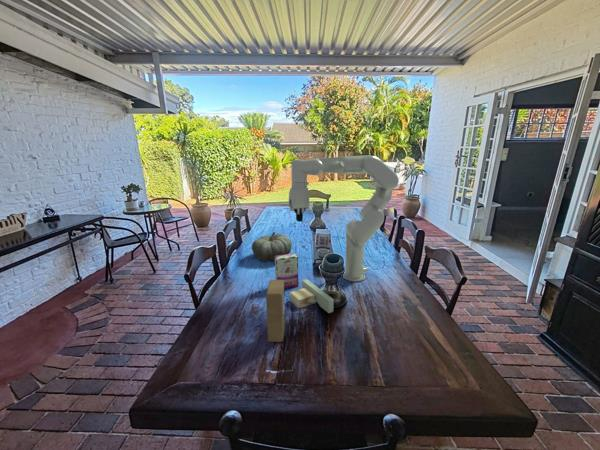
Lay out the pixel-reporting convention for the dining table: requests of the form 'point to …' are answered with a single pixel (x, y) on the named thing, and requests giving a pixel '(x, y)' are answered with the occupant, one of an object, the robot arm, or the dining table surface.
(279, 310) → the decorative block
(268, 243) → the gourd
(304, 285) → the sage board
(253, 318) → the dining table surface
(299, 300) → the ash block
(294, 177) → the robot arm
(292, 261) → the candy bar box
